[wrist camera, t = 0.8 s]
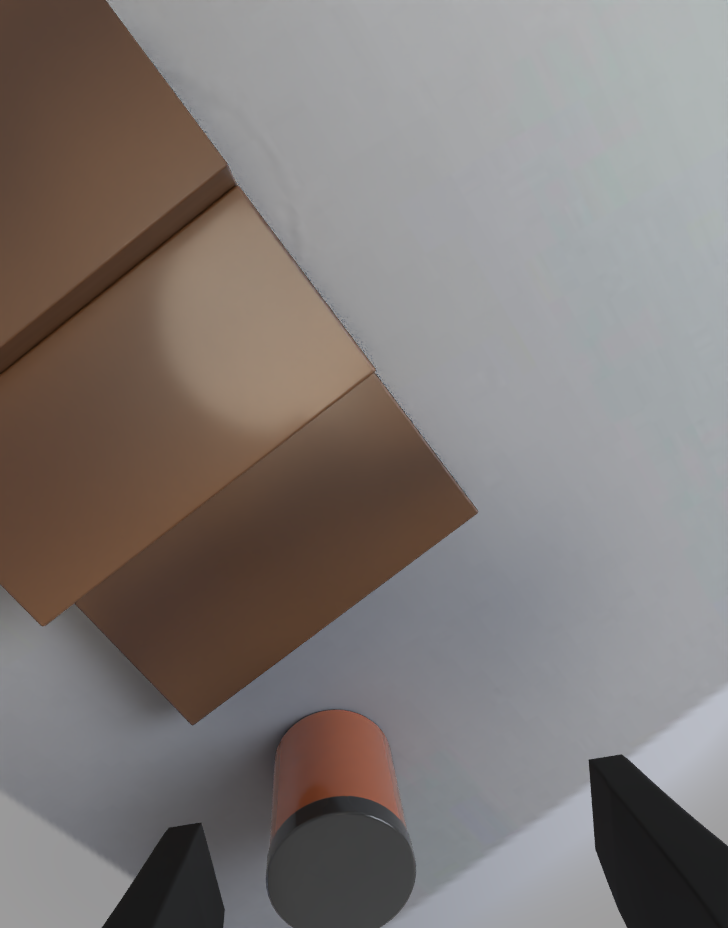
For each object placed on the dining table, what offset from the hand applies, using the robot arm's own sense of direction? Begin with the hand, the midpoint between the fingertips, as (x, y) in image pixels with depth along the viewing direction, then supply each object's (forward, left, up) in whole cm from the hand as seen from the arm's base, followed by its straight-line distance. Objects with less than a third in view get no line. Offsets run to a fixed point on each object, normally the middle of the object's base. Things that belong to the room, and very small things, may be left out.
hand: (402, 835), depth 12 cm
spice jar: (-3, -5, -10) cm, 12 cm away
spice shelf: (-3, +8, -10) cm, 13 cm away
